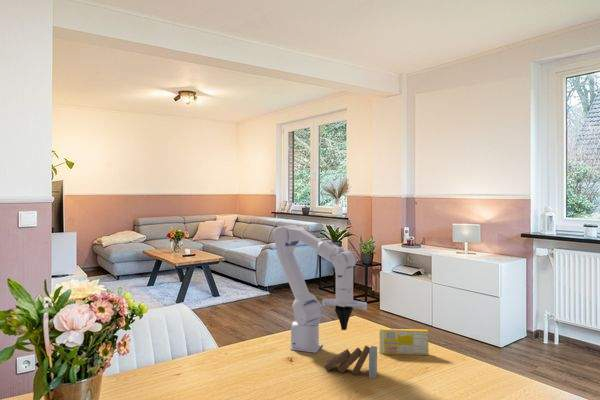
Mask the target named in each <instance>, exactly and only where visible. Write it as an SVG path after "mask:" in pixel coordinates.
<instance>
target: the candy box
mask: <svg viewBox="0 0 600 400" xmlns="http://www.w3.org/2000/svg"><path fill="white" fill-rule="evenodd" d="M378 331H379V332H378V333H379V340H378V341H379V348H378V349H379V354H386V355H387V354H388V355H407V356H408V355H411V356H413V355H414V356H415V355H416V356H429V355H430V354H429V351H430V350H429V330H428V329H421V328H420V329H419V328H417V329H416V328H415V329H412V328H411V329H409V328H383V327H382V328H380V327H379V330H378Z"/></svg>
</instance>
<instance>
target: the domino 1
mask: <svg viewBox="0 0 600 400" xmlns="http://www.w3.org/2000/svg"><path fill="white" fill-rule="evenodd" d="M351 353H352V352H350V351H349V349H348V348H347V349H345V350H343V351H341V352H340V353H338V354H337V355H335V356H333V357H332V358H330V359H328V360H327V361H326V362H325V364H323V365H324V366H323V367H324V368H325V371H327V372H328V371H330V370H332V369H333V368H335V367H336V366H340V364H341V363H342V362H344V361H345V360H347V359H348V358H349V356H350V355H351Z"/></svg>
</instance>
